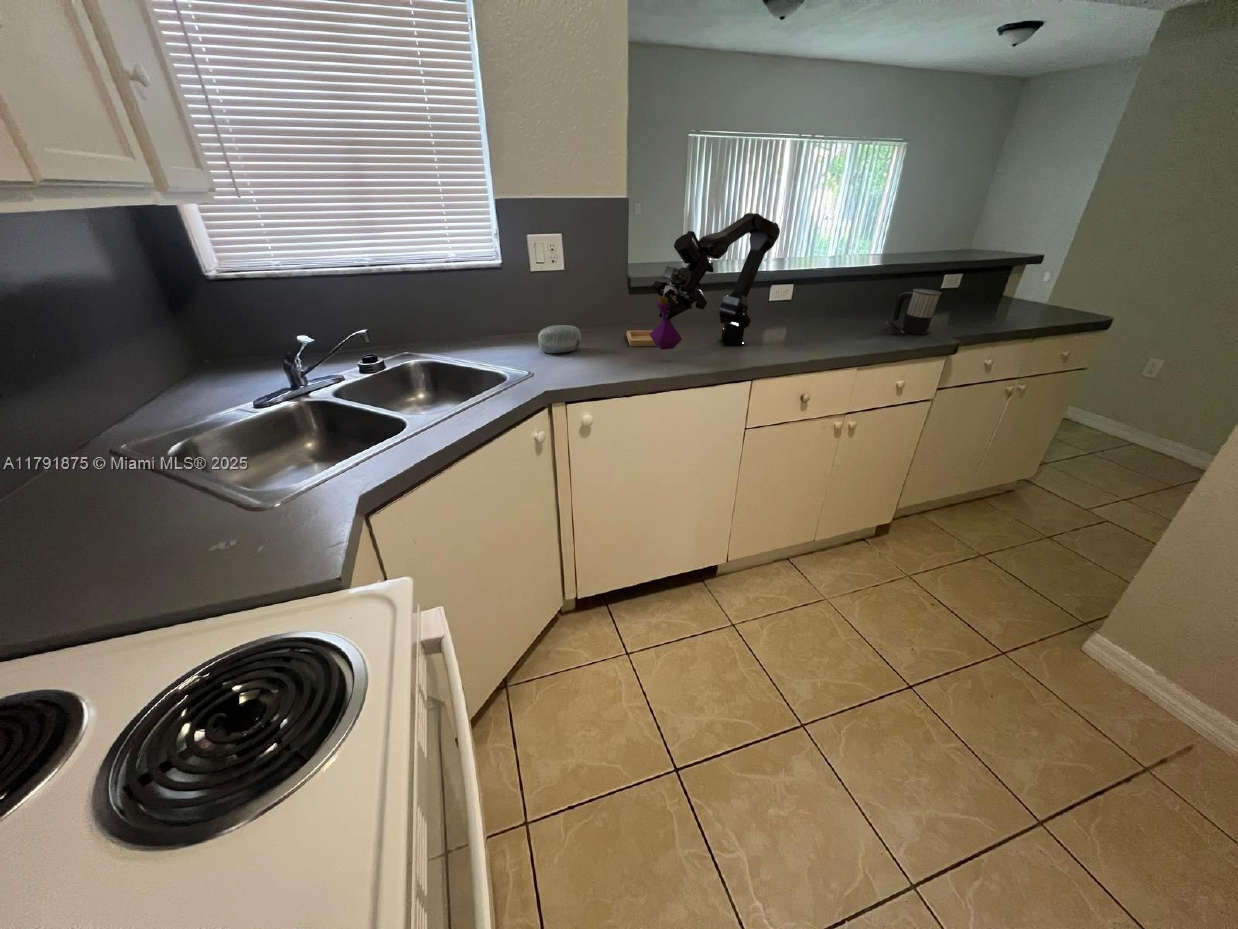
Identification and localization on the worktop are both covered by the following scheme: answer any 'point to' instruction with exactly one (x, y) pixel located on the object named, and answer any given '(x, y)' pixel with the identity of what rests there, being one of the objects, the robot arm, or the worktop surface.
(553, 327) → the grey rounded pouf
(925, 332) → the milk frother
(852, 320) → the worktop surface
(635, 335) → the wooden tray
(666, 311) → the perfume bottle
